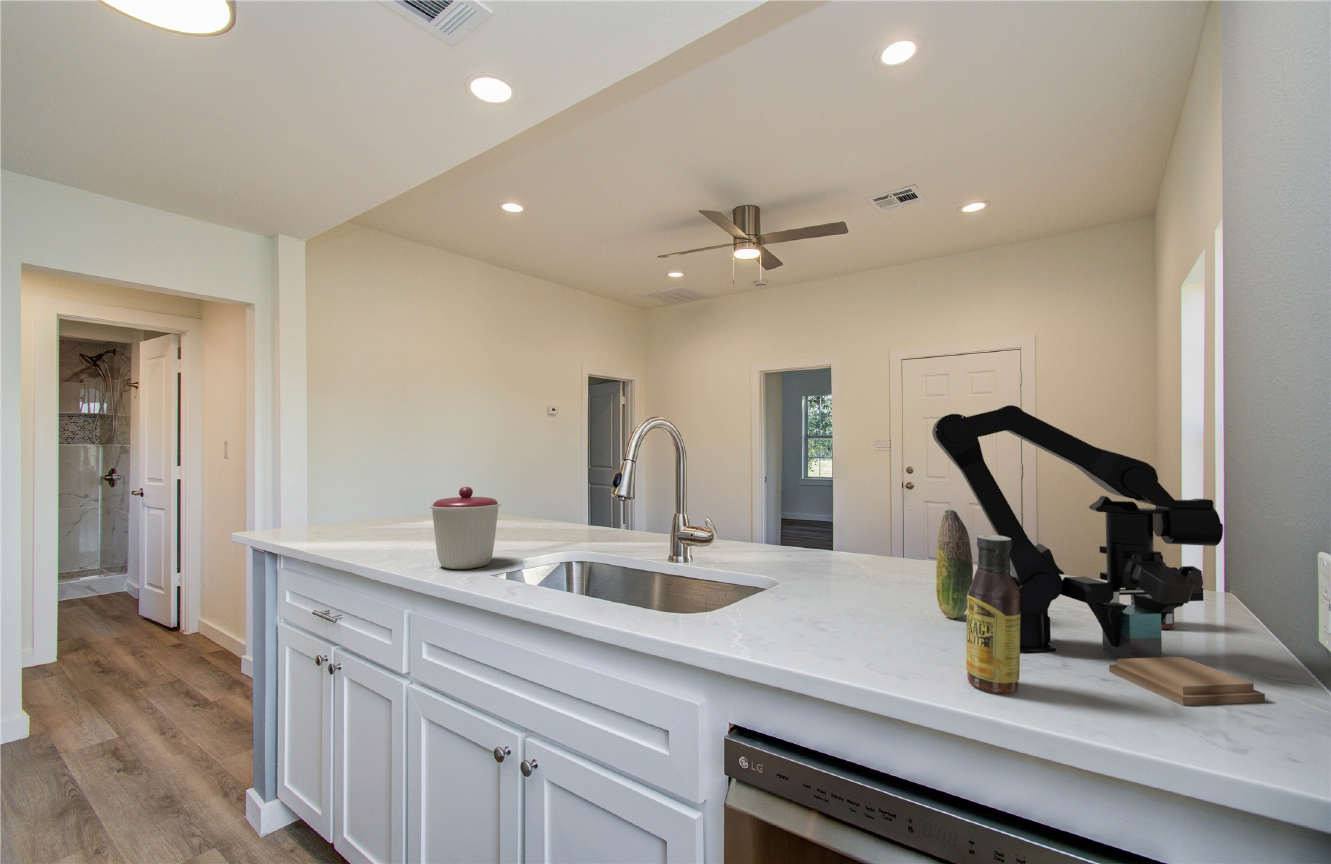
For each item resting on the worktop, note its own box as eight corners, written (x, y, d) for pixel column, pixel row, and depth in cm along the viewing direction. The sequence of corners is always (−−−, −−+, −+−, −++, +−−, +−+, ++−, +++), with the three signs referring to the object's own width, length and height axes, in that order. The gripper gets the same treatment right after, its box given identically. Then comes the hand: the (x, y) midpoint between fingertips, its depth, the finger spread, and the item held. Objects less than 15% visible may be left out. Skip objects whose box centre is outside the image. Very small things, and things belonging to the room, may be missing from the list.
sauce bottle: (956, 678, 82) (954, 532, 82) (1000, 676, 83) (997, 532, 83) (986, 698, 75) (984, 540, 76) (1033, 696, 76) (1030, 539, 76)
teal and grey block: (1130, 662, 88) (1129, 614, 88) (1102, 650, 93) (1101, 605, 93) (1162, 661, 88) (1161, 613, 88) (1132, 649, 93) (1131, 604, 93)
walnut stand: (1183, 705, 73) (1183, 688, 73) (1109, 671, 84) (1108, 657, 84) (1265, 701, 74) (1264, 685, 74) (1181, 668, 85) (1180, 654, 85)
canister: (450, 576, 147) (450, 490, 147) (416, 566, 159) (417, 487, 160) (513, 565, 160) (514, 486, 161) (478, 557, 172) (479, 483, 173)
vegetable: (932, 611, 115) (931, 507, 115) (967, 613, 113) (966, 507, 114) (940, 620, 109) (939, 510, 109) (977, 622, 107) (976, 511, 108)
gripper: (1116, 552, 82) (1118, 667, 82) (1240, 550, 84) (1243, 663, 83) (1056, 540, 93) (1058, 641, 93) (1167, 538, 95) (1169, 637, 94)
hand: (1131, 645), depth 90 cm, fingers closed on teal and grey block, 5 cm apart
